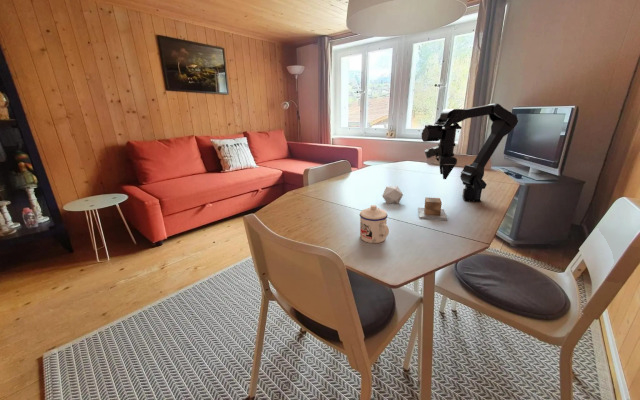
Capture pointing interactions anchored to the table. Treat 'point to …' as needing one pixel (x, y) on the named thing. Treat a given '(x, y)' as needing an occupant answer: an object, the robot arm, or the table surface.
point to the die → (392, 195)
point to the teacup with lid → (373, 225)
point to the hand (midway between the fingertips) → (443, 176)
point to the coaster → (423, 216)
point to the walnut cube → (432, 206)
